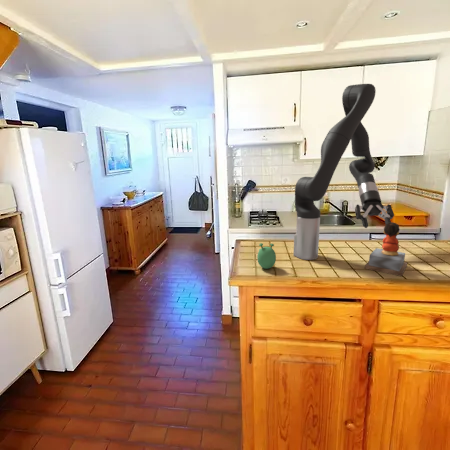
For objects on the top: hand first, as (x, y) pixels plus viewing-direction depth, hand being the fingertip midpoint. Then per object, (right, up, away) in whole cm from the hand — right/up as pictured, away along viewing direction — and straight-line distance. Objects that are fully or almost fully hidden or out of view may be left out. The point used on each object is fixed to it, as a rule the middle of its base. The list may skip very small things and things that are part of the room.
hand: (377, 227), depth 116 cm
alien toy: (-46, -16, -5) cm, 49 cm away
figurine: (0, -10, -9) cm, 13 cm away
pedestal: (-1, -15, -7) cm, 17 cm away
